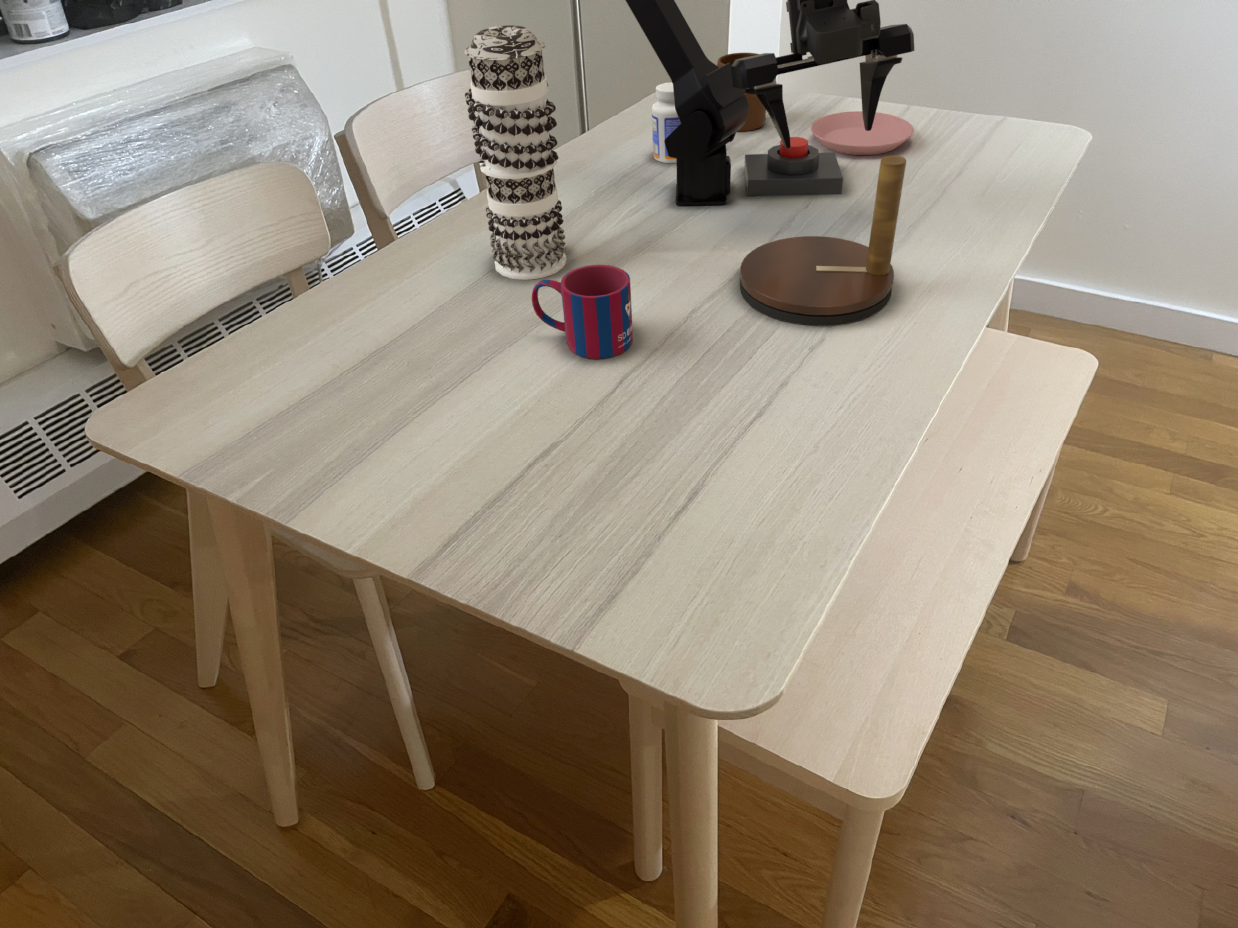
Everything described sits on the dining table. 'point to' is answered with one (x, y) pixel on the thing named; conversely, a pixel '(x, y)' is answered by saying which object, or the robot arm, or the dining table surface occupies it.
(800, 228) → the dining table surface
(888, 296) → the turntable base
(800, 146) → the button
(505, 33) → the decorative candle
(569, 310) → the cup
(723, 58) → the mug
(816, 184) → the control block
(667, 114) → the pill bottle
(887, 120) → the plate
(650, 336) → the dining table surface
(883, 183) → the turntable
